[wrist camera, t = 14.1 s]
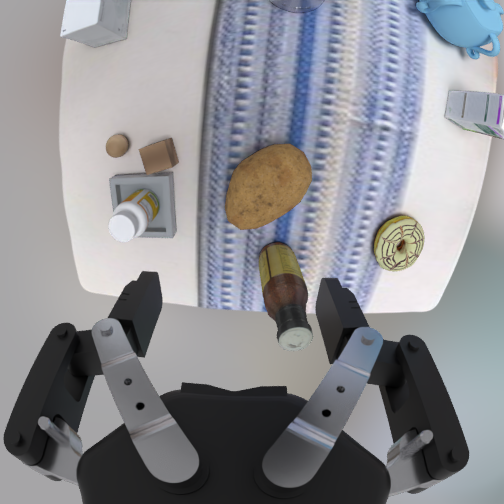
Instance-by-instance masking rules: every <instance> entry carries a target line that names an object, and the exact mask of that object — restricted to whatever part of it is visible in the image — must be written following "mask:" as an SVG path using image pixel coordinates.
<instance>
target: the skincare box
mask: <svg viewBox="0 0 504 504" xmlns="http://www.w3.org/2000/svg"><path fill="white" fill-rule="evenodd" d="M130 3H131V0H67V1H66V5H65V10H64V16H63V22H62V28H61V34H60V37H63V38H67V39H70V40H74V41H77V42H80V43H83V44H86V45H89V46H92V47H98V46H101V45H105V44H109V43H113V42H116V41H120V40H124V39H126V38H127V28H128V19H129V11H130Z"/></svg>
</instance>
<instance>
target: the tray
mask: <svg viewBox="0 0 504 504" xmlns="http://www.w3.org/2000/svg"><path fill="white" fill-rule="evenodd" d="M109 181H110V190H111V198H112V206H113V212H114V210H115V208H116V207H117V206H118V205H119V204H120V203H121V202H123V201H124V200H125V199H126V198H128V197H129V196H130V195H131V194H132V193H134V192H135V191H137V190H139V189H148V190H150V191H152V192H154V193H155V194H156V196H157V197H158V199H159V203H160V209H159V212H158V214H157V215H156V217H155V218H154V219H153V221H152V222H151V223H150V224H149V226H148V227H147V228H146V230H145V231H144V232H143V233H142V234H141V235H140V236H138V237H149V238H173V237H174V235H175V233H176V218H175V203H174V184H173V172H169V173H152V174H149V175H147V174H146V173H141V174H123V175H115V176H113V177H112V178H110V179H109Z"/></svg>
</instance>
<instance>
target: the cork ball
mask: <svg viewBox="0 0 504 504" xmlns="http://www.w3.org/2000/svg"><path fill="white" fill-rule="evenodd" d="M127 149H128V141H127V139H126V138H125V137H124V136H123V135H119V134H118V135H113V136H112V137H110V138H109V139H108V141H107V143H106V151H107V153H108V154H109V155H110V156H111V157H115V158H117V157H121V156H122V155H124V154H125V153H126V151H127Z"/></svg>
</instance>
